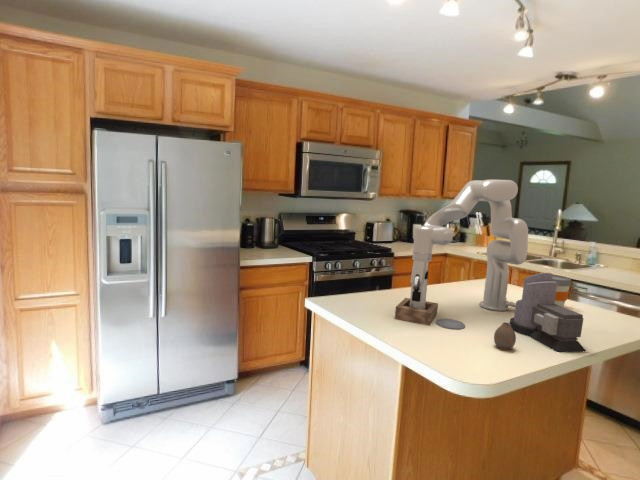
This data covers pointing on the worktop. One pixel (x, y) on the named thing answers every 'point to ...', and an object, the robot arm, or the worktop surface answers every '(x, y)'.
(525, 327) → the juicer
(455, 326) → the rubber coaster
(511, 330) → the vase
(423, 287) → the travel mug
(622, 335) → the worktop surface
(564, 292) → the reusable coffee cup
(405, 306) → the brown wooden tray
